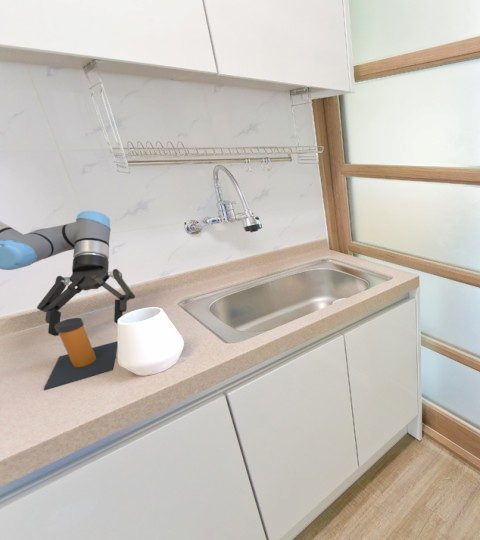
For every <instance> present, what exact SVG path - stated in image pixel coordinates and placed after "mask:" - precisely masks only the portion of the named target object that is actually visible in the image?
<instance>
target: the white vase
mask: <svg viewBox="0 0 480 540" xmlns="http://www.w3.org/2000/svg"><path fill="white" fill-rule="evenodd" d="M116 324H117V325H116V326H117V327H116V328H117V329H116V330H117V332H116V333H117V341H118V345H117V363H118V364H119V366H120V367H122V368H124V369H125V370H127V371H129V372H131V373H133V374H135V375H137V376H139V377H140V376H141V377H143V376H144V377H146V376H151V375H153V376H154V375H156V374H159V373H162V372H164V371H166V370H168V369H170V368H172V367H174V365H175V364H177V362H178V361H179V359H180V357H181V354H182V352H183V349H184V347H185V341H184V338H183V335H182V334H180V332H179V330H178V329H177V328H176V326H175V325H174V323H173V322H172V321H171V319H170V318H169V316H168V315H167V313H166V312H165V310H164V309H163V308H161V307H157V306H150V307H144V308H140V309H135V310H132V311H129V312H127V313H125V314H123V316H122V317H120V318H119V319H118V322H117V323H116Z"/></svg>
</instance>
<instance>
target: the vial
mask: <svg viewBox="0 0 480 540" xmlns="http://www.w3.org/2000/svg"><path fill="white" fill-rule="evenodd" d="M84 325H85V324H84V321H83V319H82V318H81V317H73V318H68V319H65V320H62V321H61V320H60V322H59V323H57V324H56V325H55V329H56V331H57V332H58V333H59V335H58V336H59V337H60V339H61V342H62V344H63V347H64V349H65V350H66V354H68V355H69V358H70V360H71V362H72V364H73V366H74V367H83V366H86V365H89V364H91V363H93V362H94V361H95V360H96V356H95V353H94V351H93V349H92V348H93V346H92V344H91V342H90V339H89V336H88V334H87V332H86V329H85V326H84Z"/></svg>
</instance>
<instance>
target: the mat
mask: <svg viewBox="0 0 480 540" xmlns="http://www.w3.org/2000/svg"><path fill="white" fill-rule="evenodd" d="M92 349H93V351H94V353H95V356H96V360H95V361H94V362H93V363H91V364H89V365H86V366H83V367H74V366H73V364H72V362H71V360H70V358H69V355H68V353H66V354H64V355H60V356H58V358H57V361H56V363H55V365H54V366H53V369H52V371H51V373H50V375H49V378H48V379H47V381H46V383H45V385H44V388H43V390H44V391H47V390H50V389H54V388H57V387H60V386H64V385H67V384H71V383H73V382H77V381H82V380H84V379H87V378H90V377H93V376H97V375H101V374H105V373H108V372H111V371H113V370H114V365H115V360H116V356H117V351H118V340H117V341H113V342H108V343H104V344H102V345H98V346H97V345H96V346H92Z"/></svg>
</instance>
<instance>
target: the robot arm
mask: <svg viewBox="0 0 480 540" xmlns="http://www.w3.org/2000/svg"><path fill="white" fill-rule="evenodd" d="M110 238H111V220H110V218H109V217H108V216H107V215H106V214H104V213H102V212H100V211H95V210H84V211H81V212H80V213H78V214H77V216H76V218H75V221H73V222H69V223H66V224H61V225H55V226H50V227H46V228H39V229H36V230H33V231H29V232H27V233H24V234H23V233H22V232H20V231H19V230H16V229H15V228H13V227H11V226H9V225H8V224H6V223H4V221H1V220H0V270H3V271H13V270H17V269H21V268H25V267H28V266H31V265H33V264H34V263H38V262H39V261H42V260H45V259H48V258H51V257H54V256H56V255H59V254H62V253H64V252H67V251H72V250H73V255H72V257H73V259H72V266H71V271H72V273H71V275H70V276H67V277H66V276H65V277H64V276H62V275H57V276H56V278H55V281H54V284H53V285H52V287H50V289H49V290H48V291H47V292H46V294H45V296H43V298H42V300H40V302H39V303H38V305H37V306H36V309H37V310H39V311H41V312H43V313H45V323H46V324H48V331H47V333H48V334H49V335H51V336H53V337H57V336H60V335H59V333H58V332H57V331H56V329H55V325H56V324H57V323H59V322H61V316H62V312H61V311H59V310H61V309H62V308H63V307H64V306H65V305H66V304H67V303H68V302H70V301H71V300H72V299H73V298H74V297H75V296H76V295H77V294H80V293H81V292H82V291H85V292H86V291H90V290H98V289H100V288H101V287H102V288H104V289H105V290H106V291H107V292H109V293H110V294H112V295H113V296H114V297H116V298H117V299H114V312H113V313H114V316H113V317H114V319H113V322H114V323H115V324H117V322H118V319H119V318H120V317H122V316H123V315H124V313H126V312H127V310H128V307H127V306H128V301H129V300H134V299H135V298H136V294H134V292H133V291H132V289H131V288H130V287H129V286H128V284H127V283H126V282H125V280H124V279H123V273H122V272H121V271H120V270H119V269H118V268H114V269H113V270H112V271H109V263H110V261H109V259H110ZM110 277H111V278H112V280H113V279H114V280H115V281H116V282H117V284H118V286H120V288H121V290H122V291H123V292H124V293H125V294H122V293H120V292H119V291H118V290H117V289H115V288H114V287H112V286H111V285H109V284H108V283H107V281H108V280H109V279H110ZM69 283H70V284H69Z"/></svg>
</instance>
